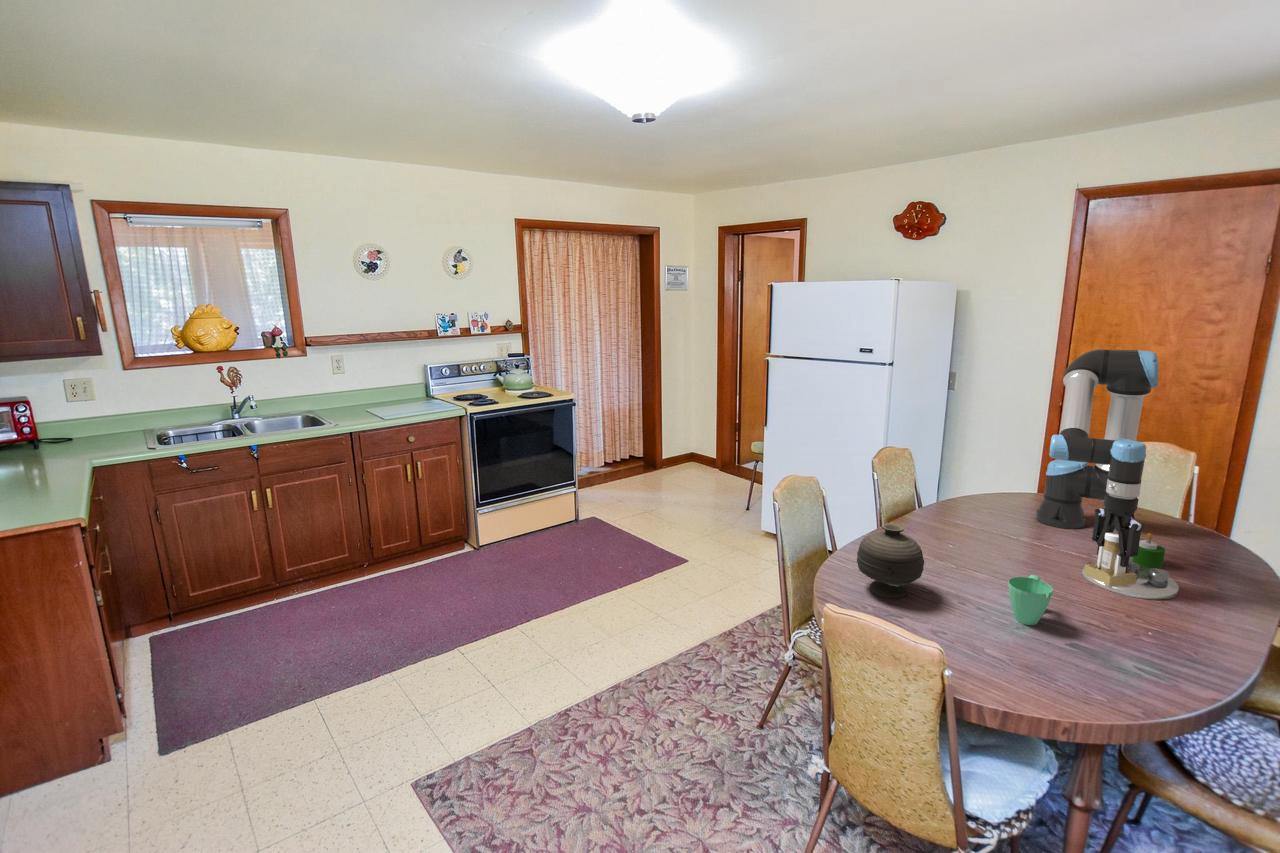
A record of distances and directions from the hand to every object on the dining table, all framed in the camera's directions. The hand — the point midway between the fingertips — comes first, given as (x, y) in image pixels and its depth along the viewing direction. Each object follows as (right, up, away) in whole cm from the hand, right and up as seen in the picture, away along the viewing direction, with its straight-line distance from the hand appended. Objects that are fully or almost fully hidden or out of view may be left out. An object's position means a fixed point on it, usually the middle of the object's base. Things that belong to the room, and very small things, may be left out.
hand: (1110, 571), depth 179 cm
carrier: (+6, -3, +2) cm, 8 cm away
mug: (-34, -8, -16) cm, 39 cm away
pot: (-65, -5, -1) cm, 65 cm away
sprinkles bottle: (0, -2, +1) cm, 2 cm away
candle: (+21, -1, +13) cm, 25 cm away
